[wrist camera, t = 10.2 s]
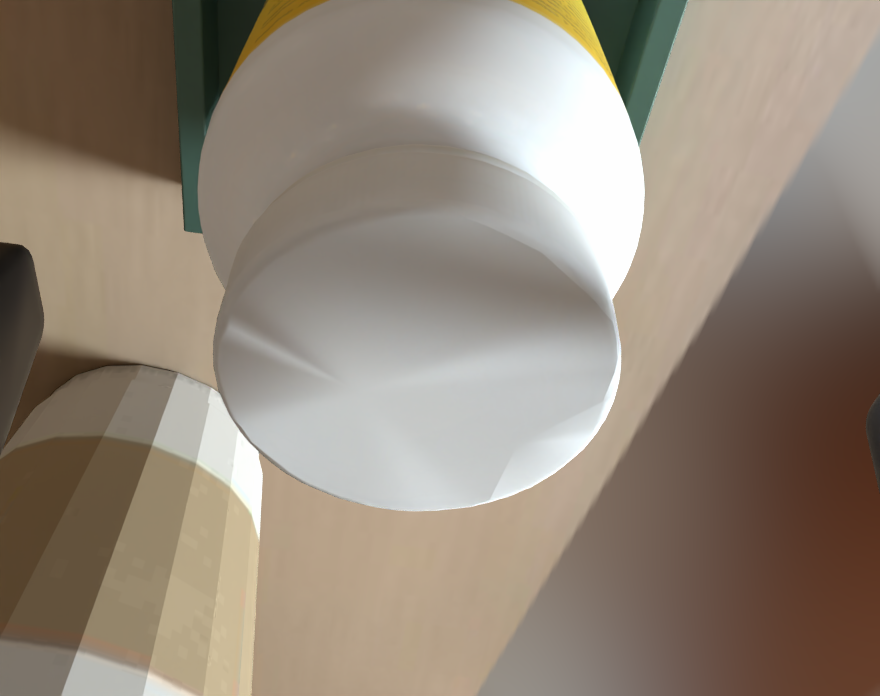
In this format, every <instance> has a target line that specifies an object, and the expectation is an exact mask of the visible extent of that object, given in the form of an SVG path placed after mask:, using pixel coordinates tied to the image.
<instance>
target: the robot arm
mask: <svg viewBox="0 0 880 696" xmlns="http://www.w3.org/2000/svg"><path fill="white" fill-rule="evenodd" d="M43 328H44V312H43V307H42V302H41V297H40V292H39V287H38V282H37V277H36V272H35V267H34V262H33V258H32V256H31V254H30V252H29V250H28V249H26V248H25V247H24V246H22V245H18V244H11V243H3V242H0V455H1V453H2V450H3V447H4V445H5V442H6V439H7V436H8V433H9V430H10V427H11V424H12V421H13V419H14V416H15V413H16V410H17V407H18V404H19V401H20V398H21V395H22V392H23V390H24V387H25V384H26V381H27V378H28V375H29V372H30V369H31V366H32V363H33V361H34V358H35V355H36V352H37V349H38V346H39V343H40V340H41V337H42V333H43ZM866 433H867V438H868V442H869V447H870V451H871V456H872V460H873V465H874V469H875V474H876V478H877V483H878V487H879V492H880V394H879V396H878V397H877V398H876V400H875V401H874V403H873V404H872V406H871V408H870V409H869V412H868V415H867V419H866Z"/></svg>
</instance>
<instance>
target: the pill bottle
mask: <svg viewBox="0 0 880 696" xmlns="http://www.w3.org/2000/svg"><path fill="white" fill-rule="evenodd" d="M198 210H199V216H200V223H201V228H202V232H203V237H204V241H205V244H206V247H207V250H208V253H209V256H210V259H211V261H212V264H213V267H214V270H215V272H216V274H217V276H218V277H219V279H220V281H221V283H222V285H223V287H224V288H225V294H224V297H223V301H222V304H221V307H220V311H219V314H218V317H217V322H216V328H215V334H214V341H213V367H214V371H215V376H216V381H217V386H218V391H219V393H220V395H221V398H222V400H223V402H224V405H225V407H226V409H227V411H228V413H229V415H230V417H231V419H232V420H233V422H234V423H235V425H236V426H237V428H238V429H239V431H240V432H241V433H242V434H243V436H244V437H245V438H246V439H247V440H248V442H249V443H250V444H251V445H252V446H253V447H254V448H255V449H256V450H257V451H258V452H259V453H261V454H262V455H263V456H264V457H265V458H266V459H268V460H269V461H270V462H271V463H272V464H274V465H275V466H276V467H278V468H279V469H280V470H282V471H283V472H285V473H286V474H288V475H290V476H291V477H293V478H295V479H297V480H298V481H300V482H302V483H304V484H306V485H308V486H310V487H313V488H315V489H317V490H320V491H322V492H325V493H327V494H329V495H332V496H334V497H337V498H340V499H344V500H347V501H351V502H355V503H359V504H364V505H368V506H373V507H378V508H385V509H390V510H402V511H438V510H448V509H457V508H465V507H472V506H476V505H480V504H484V503H488V502H492V501H495V500H499V499H502V498H506V497H509V496H511V495H514V494H516V493H518V492H520V491H523V490H525V489H528V488H530V487H532V486H534V485H536V484H537V483H539V482H541V481H542V480H544V479H546V478H547V477H549V476H551V475H552V474H554V473H555V472H557V471H558V470H559V469H561V468H562V467H563V466H564V465H565V464H567V463H568V462H569V461H570V460H571V459H573V458H574V457H575V456H576V455H577V454H578V453H579V452H581V451H582V450H583V449H584V448H585V446H586V445H587V444H588V443H589V442H590V441H591V439H592V438H593V437H594V436H595V434H596V433H597V431H598V430H599V428H600V426H601V425H602V423H603V422H604V421H605V419H606V417H607V415H608V412H609V410H610V408H611V406H612V403H613V401H614V398H615V394H616V390H617V387H618V383H619V377H620V368H621V344H620V339H619V333H618V327H617V322H616V316H615V311H614V307H613V302H612V299H613V297H614V295H615V294H616V292H617V290H618V289H619V287H620V285H621V283H622V282H623V280H624V278H625V276H626V274H627V272H628V269H629V267H630V265H631V262H632V259H633V256H634V254H635V251H636V248H637V244H638V240H639V235H640V231H641V226H642V219H643V211H644V177H643V169H642V162H641V156H640V152H639V147H638V143H637V139H636V136H635V133H634V131H633V128H632V125H631V122H630V119H629V116H628V113H627V110H626V108H625V105H624V103H623V100H622V98H621V96H620V93H619V90H618V88H617V85H616V83H615V80H614V78H613V75H612V73H611V70H610V68H609V65H608V63H607V60H606V58H605V55H604V53H603V50H602V48H601V45H600V43H599V40H598V38H597V35H596V33H595V30H594V28H593V26H592V23H591V21H590V19H589V16H588V14H587V12H586V9H585V7H584V5H583V2H582V0H266V2H265V4H264V7H263V9H262V11H261V13H260V15H259V16H258V18H257V21H256V23H255V25H254V27H253V29H252V31H251V33H250V35H249V37H248V40H247V42H246V44H245V46H244V48H243V50H242V52H241V54H240V57H239V59H238V61H237V63H236V65H235V67H234V69H233V72H232V74H231V76H230V78H229V81H228V83H227V85H226V87H225V88H224V90H223V92H222V94H221V96H220V98H219V100H218V102H217V104H216V106H215V109H214V111H213V113H212V117H211V120H210V123H209V127H208V130H207V134H206V137H205V140H204V144H203V148H202V151H201V158H200V164H199V175H198Z"/></svg>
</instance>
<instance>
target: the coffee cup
mask: <svg viewBox="0 0 880 696" xmlns="http://www.w3.org/2000/svg"><path fill="white" fill-rule="evenodd" d="M258 457H259V452H258V451H257V450H256V449H255V448H254V447H253V446H252V445H251V444H250V443H249V442H248V440H247V439H246V438H245V437H244V436H243V434H242V433H241V432H240V431H239V429H238V428H237V426H236V425H235V423H234V422H233V420H232V419H231V417H230V415H229V413H228V411H227V409H226V407H225V405H224V402H223V400H222V398H221V395H220V394H219V393H218V392H217V391H215V390H214V389H213V388H211V387H209V386H207V385H205V384H202V383H200V382H198V381H196V380H194V379H191V378H189V377H187V376H185V375H182V374H180V373H177V372H172V371H168V370H163V369H158V368H153V367H148V366H143V365H131V366H105V367H102V368H98V369H95V370H91V371H88V372H85V373H81V374H78V375H76V376H74V377H73V378H72V379H70V380H69V381H68V382H66V383H65V384H63V385H62V386H61V387H59V388H58V389H57V390H55V391H54V393H53V394H52V395H51V396H50V397H49V398H47V399H46V400H44V401H43V402H42V403H40V404H39V405H38V406H36V407H35V408H34V409H33V411H32V412H31V413H30V415H29V416H28V417H27V419H26V420H25V421H24V422H23V424H22V425H21V426H20V428H19V429H18V430H17V432H16V433H15V434H14V436H13V437H12V438H11V439H10V441H9V442H8V443H7V445H6V446H5V447H4V449H3V450H2V453H1V455H0V696H251V689H252V670H253V651H254V632H255V613H256V594H257V574H258V555H259V536H260V517H261V498H262V479H263V474H262V470H261V466H260V462H259V458H258Z"/></svg>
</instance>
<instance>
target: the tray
mask: <svg viewBox="0 0 880 696" xmlns="http://www.w3.org/2000/svg"><path fill="white" fill-rule="evenodd" d="M265 2H266V0H172V9H173V28H174V47H175V66H176V85H177V104H178V123H179V142H180V161H181V181H182V200H183V219H184V230H185V231H187V232H195V233H202V234H203V232H202V228H201V223H200V216H199V210H198V175H199V164H200V158H201V151H202V148H203V144H204V140H205V137H206V134H207V130H208V127H209V123H210V120H211V117H212V113H213V111H214V109H215V106H216V104H217V102H218V100H219V98H220V96H221V94H222V92H223V90H224V88H225V87H226V85H227V83H228V81H229V78H230V76H231V74H232V72H233V69H234V67H235V65H236V63H237V61H238V59H239V57H240V54H241V52H242V50H243V48H244V46H245V44H246V42H247V40H248V37H249V35H250V33H251V31H252V29H253V27H254V25H255V23H256V21H257V18H258V16H259V15H260V13H261V11H262V9H263V7H264V4H265ZM582 2H583V5H584V7H585V9H586V12H587V14H588V16H589V19H590V21H591V23H592V26H593V28H594V30H595V33H596V35H597V38H598V40H599V43H600V45H601V48H602V50H603V53H604V55H605V58H606V60H607V63H608V65H609V68H610V70H611V73H612V75H613V78H614V80H615V83H616V85H617V88H618V90H619V93H620V96H621V98H622V100H623V103H624V105H625V108H626V110H627V113H628V116H629V119H630V122H631V125H632V128H633V131H634V133H635V136H636V139H637V143H638V147H639V146H640V143H641V140H642V137H643V134H644V131H645V128H646V125H647V122H648V119H649V116H650V113H651V110H652V107H653V104H654V101H655V98H656V95H657V92H658V89H659V86H660V83H661V80H662V77H663V74H664V71H665V68H666V65H667V62H668V59H669V57H670V54H671V51H672V48H673V45H674V42H675V39H676V36H677V33H678V30H679V27H680V24H681V21H682V18H683V15H684V12H685V9H686V6H687V3H688V0H582Z"/></svg>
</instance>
